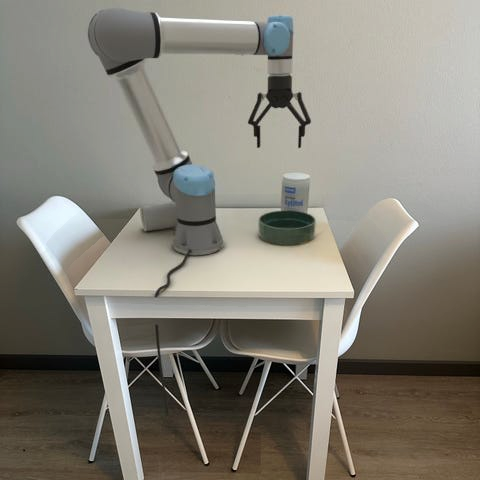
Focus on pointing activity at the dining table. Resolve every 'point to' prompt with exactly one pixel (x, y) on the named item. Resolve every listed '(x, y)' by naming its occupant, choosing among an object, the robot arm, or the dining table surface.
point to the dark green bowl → (286, 227)
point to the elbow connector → (159, 216)
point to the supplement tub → (295, 192)
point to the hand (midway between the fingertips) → (279, 147)
